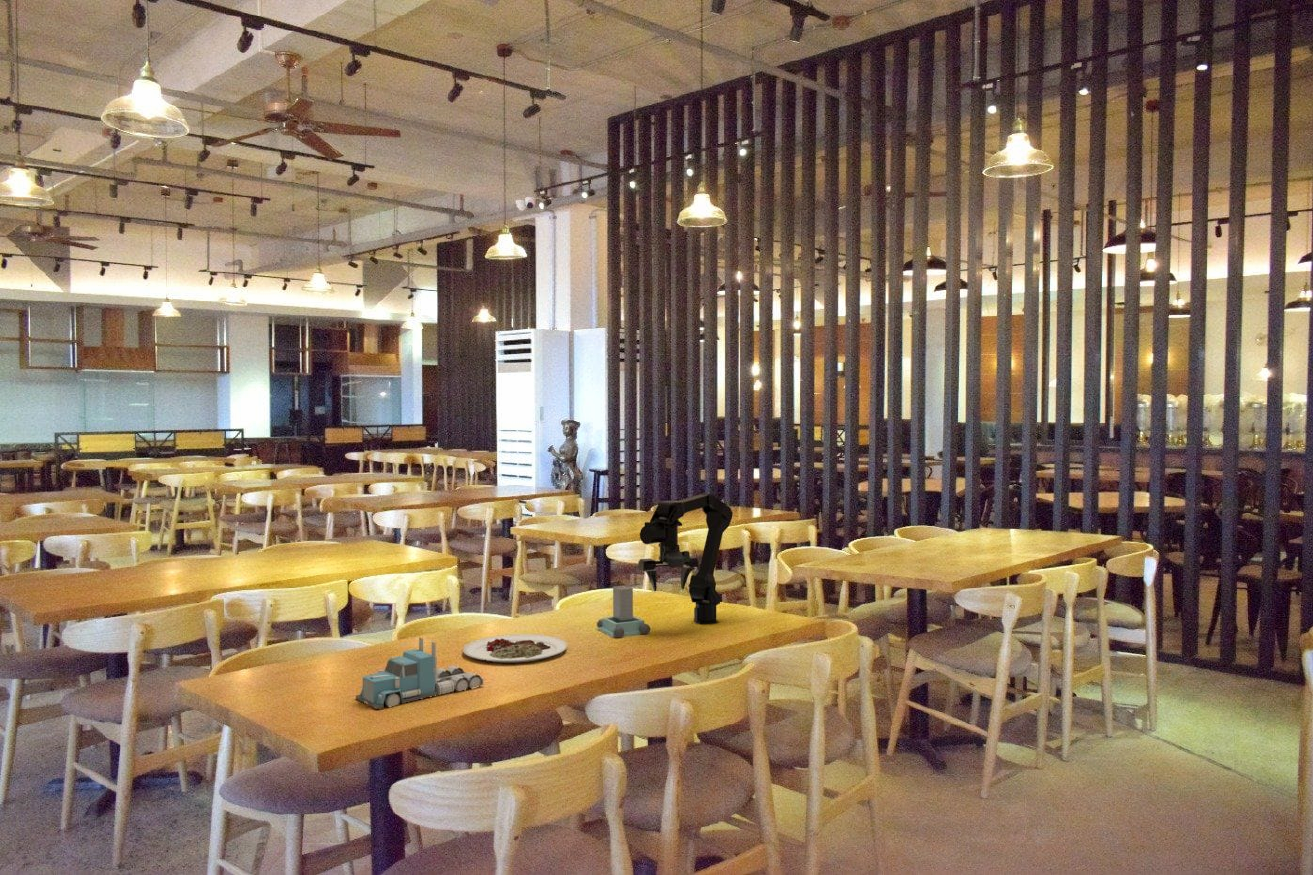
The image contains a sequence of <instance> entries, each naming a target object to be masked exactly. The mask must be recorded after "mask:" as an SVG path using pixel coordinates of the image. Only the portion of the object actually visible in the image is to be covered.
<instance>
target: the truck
mask: <svg viewBox="0 0 1313 875" xmlns="http://www.w3.org/2000/svg"><path fill="white" fill-rule="evenodd" d="M414 634H415V636H416V634H417V633H416V630H415V633H414ZM437 658H438V657H437V644H436V643H435V642H434V641H431V653H427V652H425V651H424V638H422V637H418V649H417V648H414V649H410V650H406V651H405V650H404V651H403V653H402V656H401V655H398V656H394V657H389V658H388V659H387V662H386V666H385V668H384V669H379V670H378V672H376V673H373V674H369V675H364V676H363V677H362V686H361V691H360V694H357V695H355V700H357V699H358V700H357V701H359V700H360V701H359V702H361V701H362V702H361V703H363V702H364V703H363V704H365V703H366V704H367V706H368V705H369V706H368V707H370V706H371V707H370V708H372V707H373V709H374V708H375V709H374V710H376V709H379V710H383V709H382V708H384V706H386V707H387V706H388V707H387V708H389V706H394V705H398V706H399V705H400V704H402V703H403V704H407V703H406V702H408V703H411V702H410V701H412V702H414V701H413V700H417V701H419V700H418V699H421V698H426V697H430V696H435V695H437V694H438V695H437V696H441V694H443V695H447V694H451V693H450V692H452V693H453V692H457V691H462V690H465V689H467V690H468V689H469V688H473V687H477V686H480V687H481V686H484V678H482V677H481V676H480V675H478V674H477V673H474V672H471V671H470V672H466V671H464V670H463V668H461V667H458V666H456V665H450V666H448V667H447V668H446V669H444V668H442V667H440V668H438V659H437ZM468 687H469V688H468ZM454 690H456V691H454ZM462 692H463V691H462ZM446 693H447V694H446ZM435 697H436V696H435ZM430 698H431V697H430ZM426 699H427V698H426ZM421 700H422V699H421ZM366 704H365V705H366ZM394 707H395V706H394Z"/></svg>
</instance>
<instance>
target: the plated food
mask: <svg viewBox="0 0 1313 875" xmlns="http://www.w3.org/2000/svg"><path fill="white" fill-rule="evenodd" d="M567 648H568V643H567V642H566V641H565V640H563V639H561V638H558V637H554V636H550V635H543V634H532V633H531V634H528V633H527V634H523V633H522V634H505V635H504V634H503V635H496V636H489V637H485V638H480V639H477V640H473V641H471V642H469V643H467V644H466V645H464V646H463V647H462V651H463V654H465V656H467V657H469V658H473V659H475V660H476V659H477V660H483V661H485V660H486V662H491V661H492V663H503V664H504V663H505V664H508V663H513V664H514V663H525V662H534V661H539V660H542V659H546V658H550V657H553V656H556V655H559V654H561V653H563V652H564V651H566V650H567Z"/></svg>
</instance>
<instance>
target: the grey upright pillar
mask: <svg viewBox="0 0 1313 875" xmlns="http://www.w3.org/2000/svg"><path fill="white" fill-rule="evenodd" d="M633 592H634V589H633V588H632V587H630V586H627V585H621V586H613V587H612V597H613V598H612V610H613V611H612V612H613V613H612V617H613V621H614V622H616V623H622V622H630V621H633V616H634V599H633V598H634V593H633Z"/></svg>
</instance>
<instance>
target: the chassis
mask: <svg viewBox="0 0 1313 875" xmlns="http://www.w3.org/2000/svg"><path fill="white" fill-rule="evenodd" d="M596 627H597V628H598V631H600V632H601V633H603V634H606V635H608V637H611V638H617V639H620V638H621V639H622V638H623V637H629V636H636V635H637V636H638V635H645V636H646V635H649V633H650V632H651V627H650V625H649V624H647V623H645V620H644V619H641V618H639V617H637V616H634V615H633V621H630V622H622V623H616V622H614V621H613V616H609V617H607V616H606V617H602V618H600V619H599V620H598V621H597V622H596Z"/></svg>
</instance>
